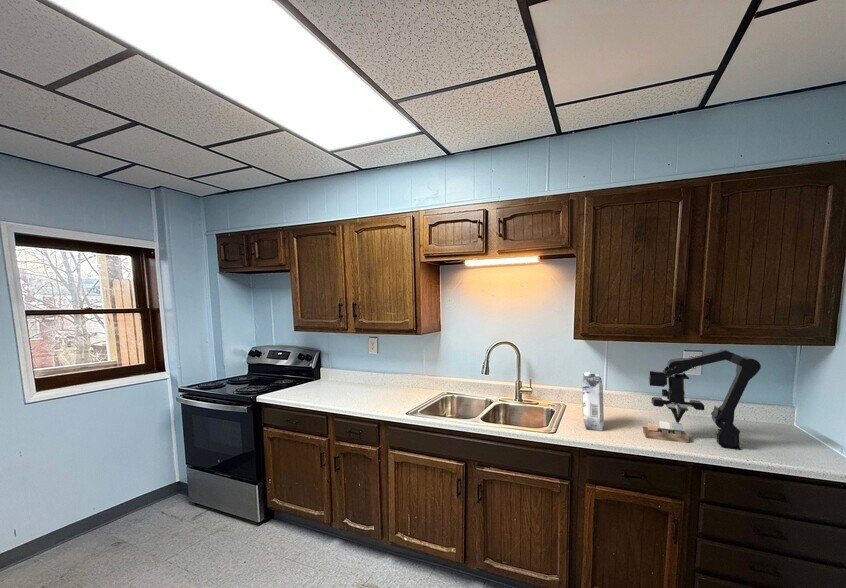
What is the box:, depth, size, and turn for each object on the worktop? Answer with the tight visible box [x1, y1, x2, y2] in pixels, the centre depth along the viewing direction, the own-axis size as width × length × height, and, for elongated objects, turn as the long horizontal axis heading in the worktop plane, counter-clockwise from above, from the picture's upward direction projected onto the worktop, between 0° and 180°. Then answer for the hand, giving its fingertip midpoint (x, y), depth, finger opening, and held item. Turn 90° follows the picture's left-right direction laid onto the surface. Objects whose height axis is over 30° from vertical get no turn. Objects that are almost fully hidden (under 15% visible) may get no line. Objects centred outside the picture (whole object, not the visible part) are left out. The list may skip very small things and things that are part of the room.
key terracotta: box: [646, 422, 659, 432], centre depth 162 cm, size 3×3×5 cm
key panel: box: [642, 426, 690, 444], centre depth 161 cm, size 16×7×3 cm, turn 67°
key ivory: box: [658, 420, 671, 433], centre depth 161 cm, size 3×3×5 cm
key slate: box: [671, 422, 684, 434], centre depth 159 cm, size 3×3×5 cm
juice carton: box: [581, 371, 605, 432], centre depth 175 cm, size 9×10×27 cm
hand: (677, 422), depth 159 cm, fingers closed
